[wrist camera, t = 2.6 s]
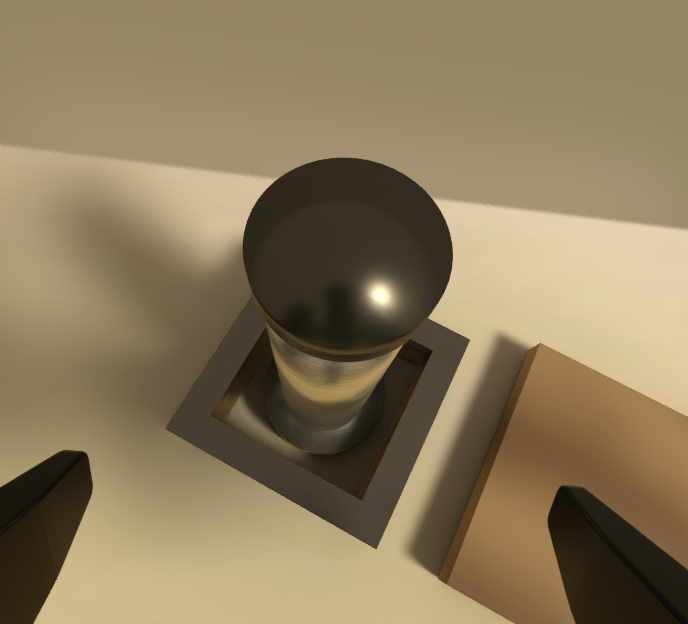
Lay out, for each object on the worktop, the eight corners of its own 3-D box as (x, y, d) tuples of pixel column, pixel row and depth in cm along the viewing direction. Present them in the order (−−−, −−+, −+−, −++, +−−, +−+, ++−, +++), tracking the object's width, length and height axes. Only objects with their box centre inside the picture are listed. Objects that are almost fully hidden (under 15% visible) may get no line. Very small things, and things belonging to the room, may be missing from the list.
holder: (367, 541, 18) (376, 549, 16) (182, 436, 19) (165, 428, 17) (451, 356, 21) (469, 339, 19) (287, 271, 22) (285, 245, 19)
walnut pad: (695, 725, 17) (724, 742, 16) (437, 578, 18) (446, 584, 17) (747, 461, 20) (773, 459, 19) (527, 350, 21) (540, 343, 20)
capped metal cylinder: (348, 477, 19) (422, 453, 7) (242, 418, 19) (133, 297, 7) (400, 372, 20) (534, 199, 8) (301, 320, 21) (293, 86, 9)
